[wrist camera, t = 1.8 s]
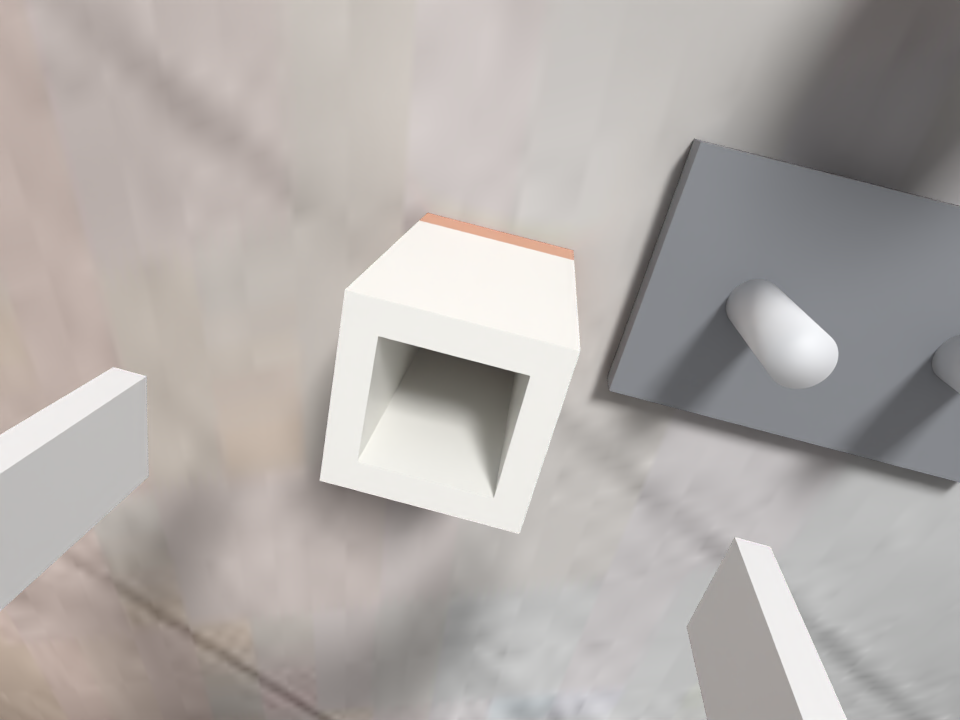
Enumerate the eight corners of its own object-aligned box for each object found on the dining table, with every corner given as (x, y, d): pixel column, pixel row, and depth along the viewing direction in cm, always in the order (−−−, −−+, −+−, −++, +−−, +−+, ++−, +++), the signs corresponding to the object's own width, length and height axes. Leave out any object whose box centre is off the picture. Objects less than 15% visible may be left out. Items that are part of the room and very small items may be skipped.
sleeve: (402, 345, 26) (319, 480, 17) (427, 212, 24) (344, 289, 15) (533, 380, 26) (519, 533, 17) (573, 250, 24) (580, 351, 15)
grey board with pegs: (607, 378, 26) (619, 458, 20) (694, 139, 21) (741, 156, 16) (969, 472, 25) (1084, 581, 20) (1132, 250, 21) (1337, 307, 16)
